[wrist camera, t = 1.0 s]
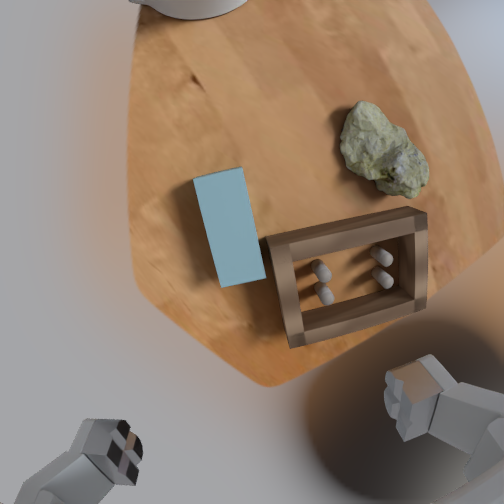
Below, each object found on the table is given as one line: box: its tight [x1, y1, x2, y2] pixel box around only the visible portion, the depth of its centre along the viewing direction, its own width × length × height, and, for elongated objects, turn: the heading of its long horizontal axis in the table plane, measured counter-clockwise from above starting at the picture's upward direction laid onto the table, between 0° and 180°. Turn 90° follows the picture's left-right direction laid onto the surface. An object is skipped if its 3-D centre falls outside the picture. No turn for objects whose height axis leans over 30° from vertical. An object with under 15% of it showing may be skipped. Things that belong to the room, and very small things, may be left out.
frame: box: [266, 206, 428, 349], centre depth 35 cm, size 13×19×4 cm
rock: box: [340, 101, 429, 199], centre depth 30 cm, size 11×6×10 cm
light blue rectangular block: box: [193, 167, 266, 288], centre depth 33 cm, size 12×5×4 cm, turn 12°
